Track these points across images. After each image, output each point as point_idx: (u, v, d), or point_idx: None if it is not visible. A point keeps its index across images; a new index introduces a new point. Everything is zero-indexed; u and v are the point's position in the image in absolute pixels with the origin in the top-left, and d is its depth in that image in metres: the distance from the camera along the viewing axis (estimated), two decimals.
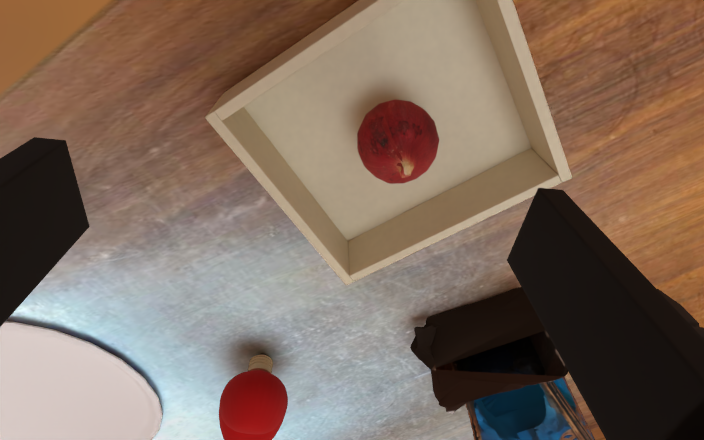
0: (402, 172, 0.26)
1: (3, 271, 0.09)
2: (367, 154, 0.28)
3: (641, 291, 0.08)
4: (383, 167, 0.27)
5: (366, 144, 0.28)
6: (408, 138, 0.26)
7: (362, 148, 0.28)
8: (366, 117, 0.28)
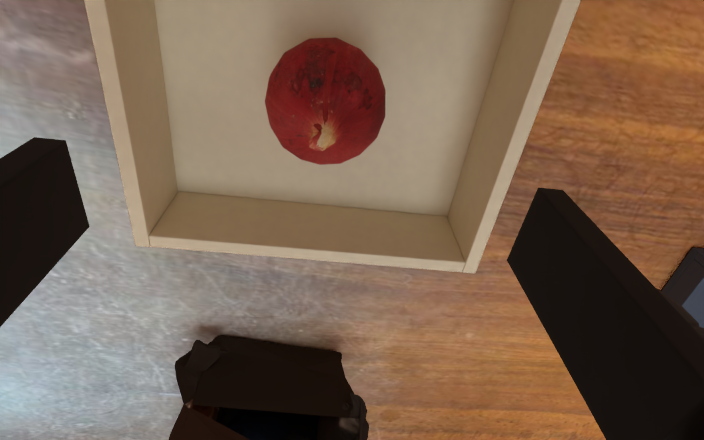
0: (315, 139, 0.16)
1: (3, 271, 0.09)
2: (281, 85, 0.17)
3: (641, 291, 0.08)
4: (293, 116, 0.17)
5: (289, 71, 0.17)
6: (350, 101, 0.17)
7: (280, 74, 0.18)
8: (310, 39, 0.18)
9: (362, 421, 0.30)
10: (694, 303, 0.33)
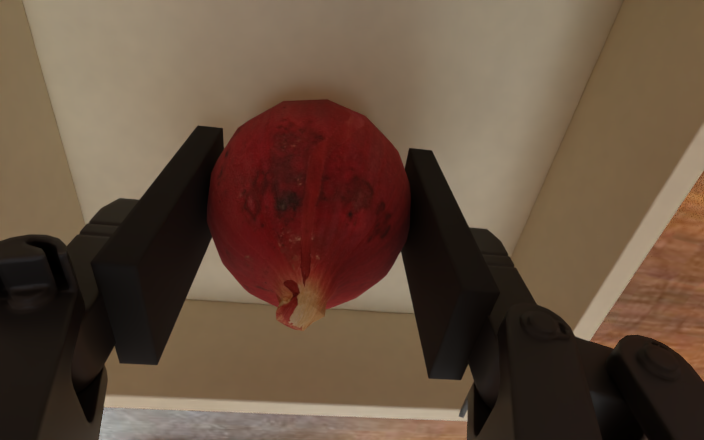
0: (287, 313, 0.09)
1: (197, 232, 0.11)
2: (227, 197, 0.10)
3: (451, 223, 0.09)
4: (248, 258, 0.09)
5: (242, 172, 0.09)
6: (352, 233, 0.09)
7: (225, 174, 0.10)
8: (281, 108, 0.10)
9: None
10: None
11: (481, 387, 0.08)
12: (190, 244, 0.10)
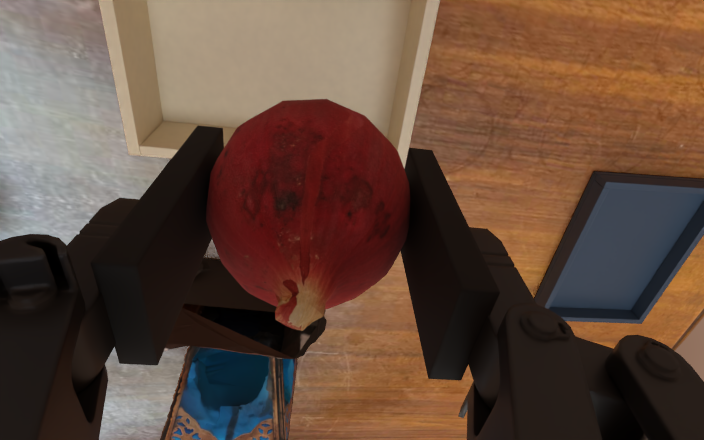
0: (286, 312, 0.09)
1: (198, 232, 0.11)
2: (227, 197, 0.10)
3: (450, 223, 0.09)
4: (247, 258, 0.09)
5: (241, 172, 0.10)
6: (352, 232, 0.09)
7: (225, 173, 0.10)
8: (281, 108, 0.10)
9: None
10: (602, 222, 0.39)
11: (481, 387, 0.08)
12: (190, 244, 0.10)
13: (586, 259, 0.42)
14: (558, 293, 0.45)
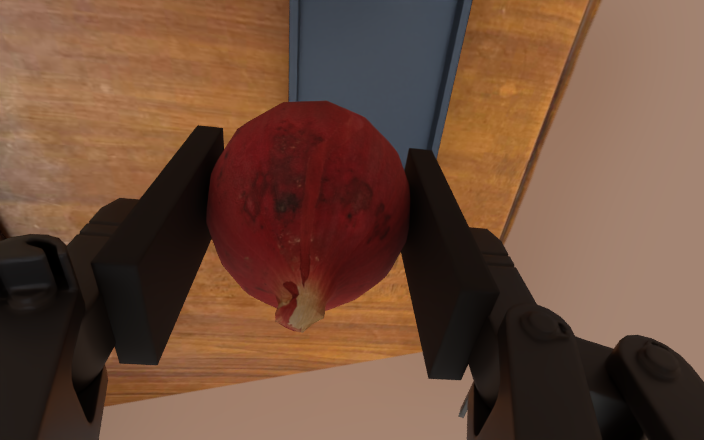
0: (286, 314, 0.09)
1: (198, 232, 0.11)
2: (227, 198, 0.10)
3: (450, 223, 0.09)
4: (247, 260, 0.09)
5: (241, 173, 0.10)
6: (352, 235, 0.09)
7: (225, 175, 0.10)
8: (281, 110, 0.10)
9: None
10: (331, 29, 0.29)
11: (481, 387, 0.08)
12: (189, 244, 0.10)
13: (331, 92, 0.32)
14: None
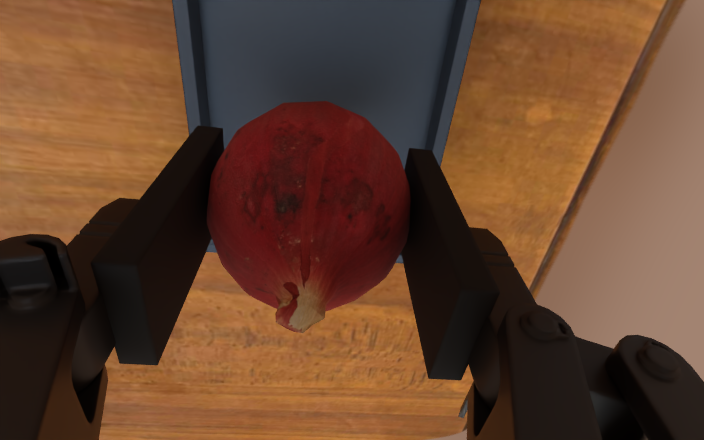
0: (286, 315, 0.09)
1: (198, 232, 0.11)
2: (227, 199, 0.10)
3: (451, 223, 0.09)
4: (247, 260, 0.09)
5: (241, 174, 0.10)
6: (352, 235, 0.09)
7: (225, 175, 0.10)
8: (281, 110, 0.10)
9: None
10: (252, 16, 0.18)
11: (481, 387, 0.08)
12: (190, 244, 0.10)
13: None
14: None
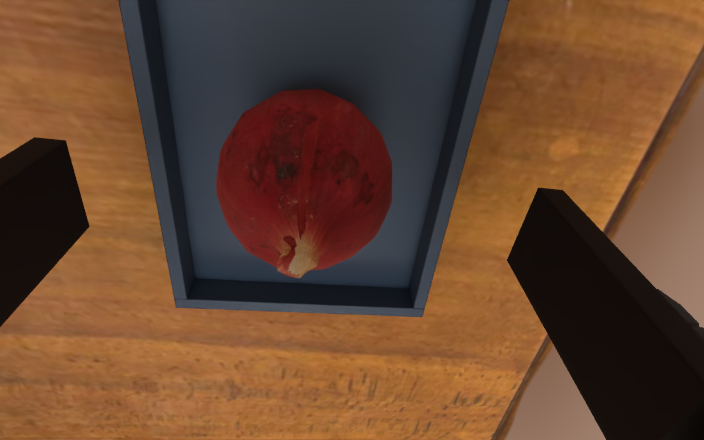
0: (285, 262, 0.10)
1: (3, 271, 0.09)
2: (235, 170, 0.11)
3: (641, 291, 0.08)
4: (253, 220, 0.11)
5: (247, 148, 0.11)
6: (341, 198, 0.11)
7: (233, 150, 0.12)
8: (280, 96, 0.12)
9: None
10: (225, 39, 0.15)
11: None
12: None
13: None
14: (221, 247, 0.20)
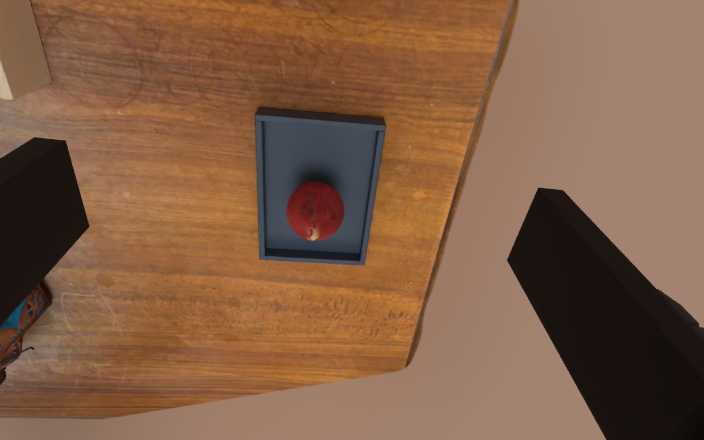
0: (310, 236, 0.37)
1: (3, 271, 0.09)
2: (294, 209, 0.38)
3: (641, 291, 0.08)
4: (300, 224, 0.38)
5: (298, 203, 0.38)
6: (325, 218, 0.38)
7: (293, 203, 0.39)
8: (307, 185, 0.39)
9: None
10: (287, 160, 0.42)
11: None
12: None
13: None
14: (278, 234, 0.47)
